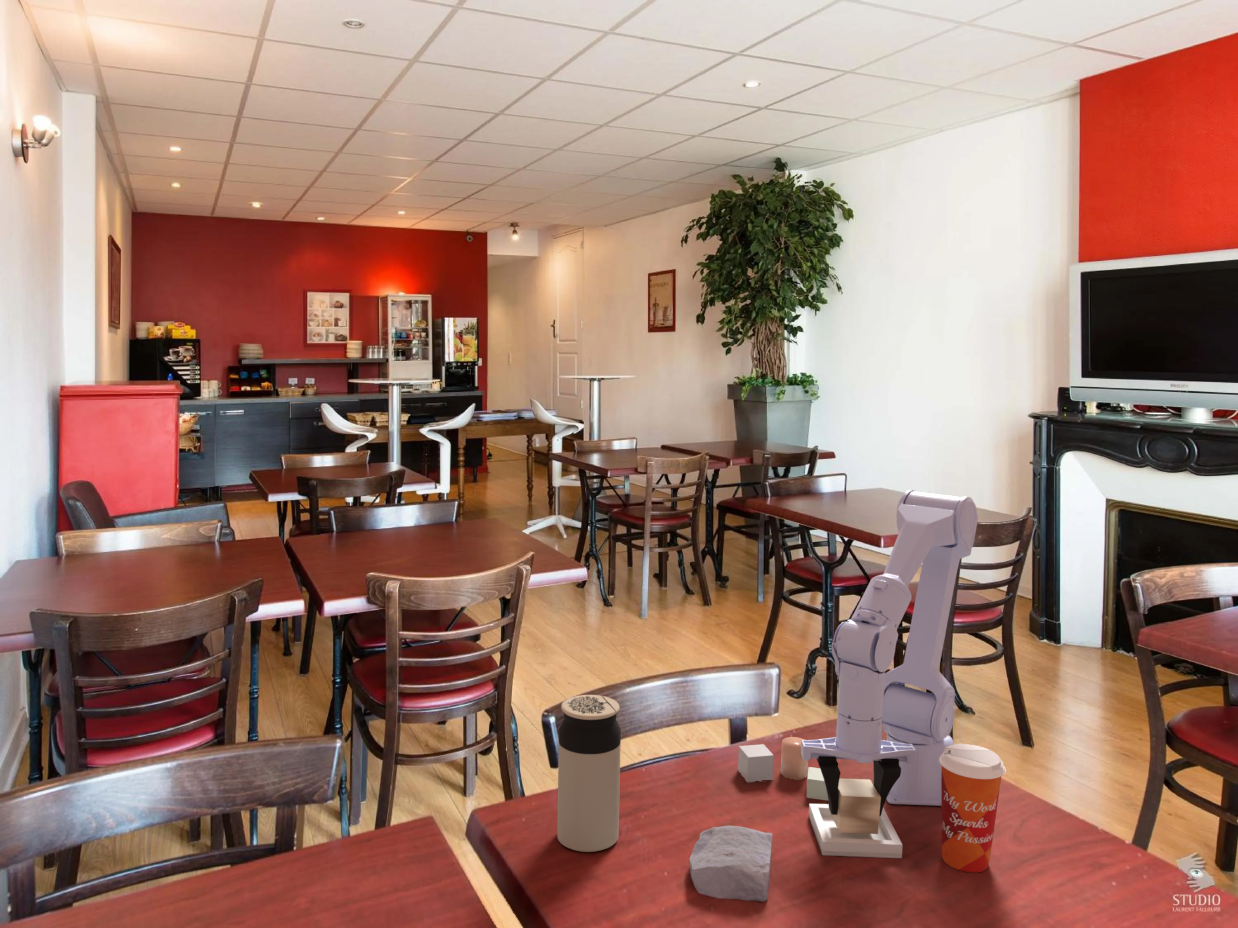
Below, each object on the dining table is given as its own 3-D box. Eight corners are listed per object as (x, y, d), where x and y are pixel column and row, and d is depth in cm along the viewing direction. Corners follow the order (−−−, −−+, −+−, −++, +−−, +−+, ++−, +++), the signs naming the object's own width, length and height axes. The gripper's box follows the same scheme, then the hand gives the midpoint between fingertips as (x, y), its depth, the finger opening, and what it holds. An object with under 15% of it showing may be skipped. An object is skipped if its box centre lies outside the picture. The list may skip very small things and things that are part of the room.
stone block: (689, 910, 107) (775, 905, 105) (683, 870, 107) (768, 864, 105) (700, 860, 119) (777, 854, 117) (694, 824, 118) (771, 818, 116)
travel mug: (561, 856, 114) (564, 718, 112) (553, 824, 122) (555, 695, 120) (624, 851, 116) (627, 714, 114) (611, 819, 123) (614, 691, 121)
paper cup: (932, 869, 113) (939, 761, 111) (933, 839, 120) (940, 737, 119) (1000, 883, 110) (1008, 773, 109) (997, 851, 118) (1005, 747, 116)
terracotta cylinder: (804, 768, 141) (806, 737, 140) (809, 780, 137) (811, 748, 136) (778, 767, 141) (780, 736, 140) (782, 779, 137) (784, 747, 136)
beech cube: (867, 814, 123) (870, 779, 122) (877, 833, 118) (880, 797, 117) (830, 813, 123) (832, 777, 122) (839, 832, 118) (842, 795, 117)
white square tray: (881, 818, 125) (882, 806, 125) (901, 857, 116) (902, 844, 115) (808, 815, 126) (809, 803, 126) (822, 854, 116) (823, 841, 116)
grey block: (762, 768, 140) (763, 743, 140) (772, 780, 136) (773, 755, 136) (738, 770, 139) (738, 745, 139) (747, 782, 136) (748, 757, 135)
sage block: (835, 789, 134) (836, 770, 134) (834, 802, 130) (836, 782, 130) (807, 785, 135) (808, 766, 135) (806, 798, 131) (807, 778, 131)
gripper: (809, 722, 115) (804, 824, 117) (925, 726, 115) (918, 829, 116) (800, 701, 122) (795, 798, 124) (909, 705, 122) (903, 802, 123)
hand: (854, 811), depth 120 cm, fingers closed on beech cube, 5 cm apart
